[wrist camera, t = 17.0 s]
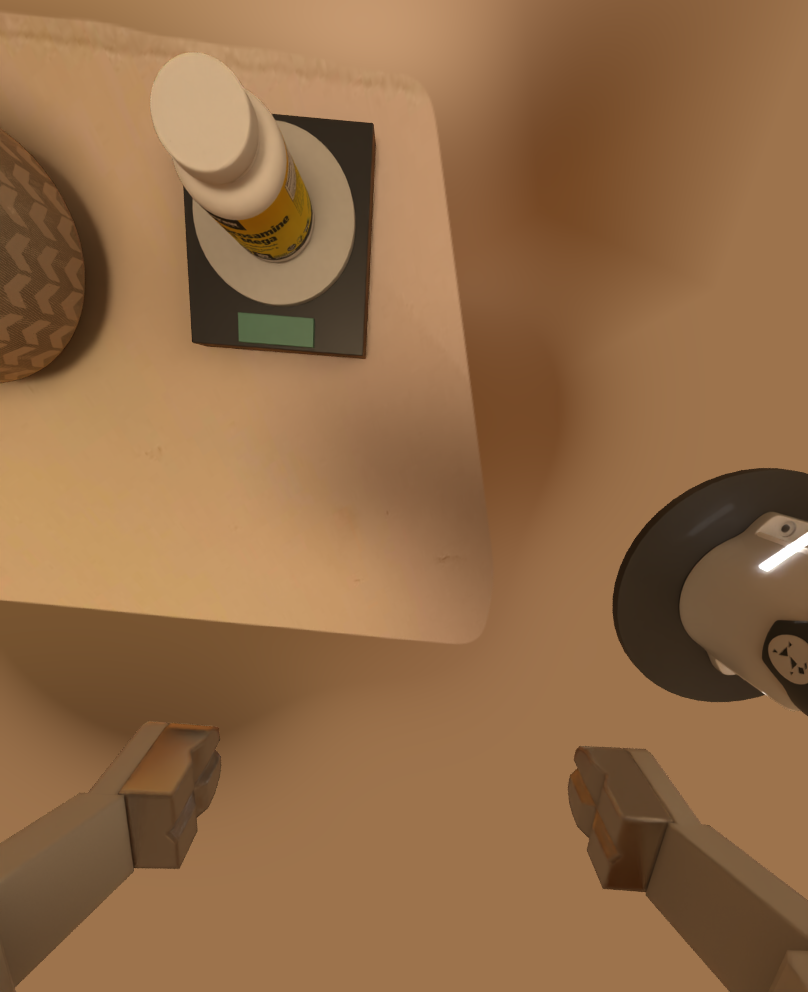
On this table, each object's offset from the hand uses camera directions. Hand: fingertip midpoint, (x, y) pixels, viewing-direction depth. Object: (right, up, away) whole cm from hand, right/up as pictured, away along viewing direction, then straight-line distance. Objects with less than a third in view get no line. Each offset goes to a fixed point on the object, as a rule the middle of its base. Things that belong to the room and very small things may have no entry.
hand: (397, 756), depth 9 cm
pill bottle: (-9, +27, +20) cm, 35 cm away
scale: (-10, +26, +23) cm, 36 cm away
